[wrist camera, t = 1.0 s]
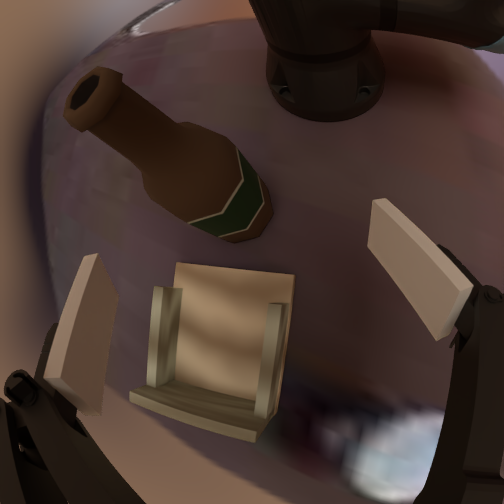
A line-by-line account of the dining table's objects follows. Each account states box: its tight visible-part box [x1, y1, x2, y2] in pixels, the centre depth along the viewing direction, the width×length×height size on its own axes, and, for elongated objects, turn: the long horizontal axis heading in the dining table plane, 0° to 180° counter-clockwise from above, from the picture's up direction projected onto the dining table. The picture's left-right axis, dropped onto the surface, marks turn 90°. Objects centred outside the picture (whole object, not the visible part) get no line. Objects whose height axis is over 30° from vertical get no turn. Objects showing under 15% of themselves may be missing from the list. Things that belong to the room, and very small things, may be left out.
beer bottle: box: [63, 66, 273, 243], centre depth 23 cm, size 8×8×24 cm
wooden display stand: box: [130, 262, 296, 443], centre depth 29 cm, size 15×14×8 cm
